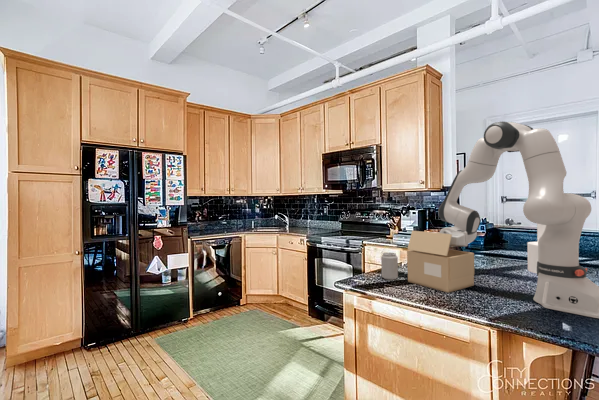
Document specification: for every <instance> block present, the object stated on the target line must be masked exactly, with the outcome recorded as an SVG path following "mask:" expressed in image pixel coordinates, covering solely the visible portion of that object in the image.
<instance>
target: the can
mask: <svg viewBox="0 0 599 400" xmlns="http://www.w3.org/2000/svg"><path fill="white" fill-rule="evenodd" d="M380 257H381V258H380V259H381V260H380V261H381V277H382V278H383V280H388V281H395V280H396V279H398V278H399V266H398V265H399V261H398V260H399V259H398V256H397V254H396V253H395V252H383V253H382V255H381V256H380Z"/></svg>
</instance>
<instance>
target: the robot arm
mask: <svg viewBox="0 0 599 400" xmlns="http://www.w3.org/2000/svg"><path fill="white" fill-rule="evenodd" d="M506 152H507V153H515V152H516V153H518V152H519V153H520V156H521V159H522V161H523V165H524V170H525V172H526V173H525V174H526V178H527V179H528V196H527V199H526V201H525V202H524V203H523V207H522V209H523V211H522V212H523V214H524V217H525V218H526V219H527V220H528V222H529V221H530V222H531V223H534V224H536V225H537V224H541V225H546V228H545V231H544V233H543V235H542V236H541V237H540V239H539V241H538V262H537V274H536V276H537V283H536V288H535V289H536V290H535V293H534V296H533V298H532V299H533V301H534V302H536V303H538V304H540V305H541V306H542V307H543V308H545V309H549V310H554V311H559V312H563V313H568V314H573V315H580V316H584V317H588V318H594V319H599V285H597V284H596V282H593V281H592V280H590V279H589V278H588V277H587V272H588V268H587V267H586V268H584V267H583V266H581V265H580V259H579V256H580V254H579V252H580V250H579V249H580V248H579V247H580V239H581V235H582V232H583V228H584V225H585V222H586V220H587V218H588V217H589V216H590V214H591V213H592V205H591V203H590V201H589V200H588V199H587V198H586V197H584V196H581V195H579V194H576V193H572V192H571V193H569V192H567V193H566V192H564V181H565V180H564V179H565V178H566V177H567V170H566V166H565V164H564V160H563V157H562V155H561V150H560V149H559V146H558V142H557V141H556V139H555V138H554V136H553V134H552V133H551V132H550V131H549V130H548V129H545V128H541V127H539V128H533V127H532V126H531V125H526V124H522V123H518V122H512V121H511V122H510V121H503V120H502V121H497V122H493V123H491V124H490V125H488V126H487V127H486V128H485V130H484V132H483V137H481V138H479V139H478V140H477V141H476V142H475V144H474V147H472V150H471V152H470V155H469V159H468V162H467V164H466V165H465V167H463V169H461V170H460V171H458V172H457V173H456V175H455V177H454V178H453V181H452V182H451V184H450V187H449V189H448V191H447V193H446V195H445V197H444V200H443V201H442V202H441V204H440V205H439V207H438V209H437V214H438V217H439V218H440V219H439V220H441V221H442V222H445V223H448V224H451V225H453V226H447V227H443V228H441V229H440V230H439V231H438V233H443V234H452V237H451V242H450V246H449V248H452V247H453V248H454V247H468V245H469V244H470V243H472V242H474V241H475V239H477V235H478V233H477V231H478V229H479V227H480V226H481V217H480V216H481V215H480V213H479V212H478V210H475V209H472V208H469V207H467V206H464V205H461V204H459V203H458V199H459V196H460V195H461V193H462V191H463V189H464V187H466V186H468V185H471V184H479V183H484V182H487V181H488V180H490V179H491V178H493V176H494V174H495V173H496V170H497V167H498V165H499V164H498V163H499V161H500V158H501V155H503V154H504V153H506ZM431 232H432V233H436V232H434V231H431Z"/></svg>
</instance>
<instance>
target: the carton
mask: <svg viewBox="0 0 599 400" xmlns="http://www.w3.org/2000/svg"><path fill="white" fill-rule="evenodd" d="M406 258H407V261H406V262H407V265H406V267H407V268H406V269H407V282H408V283H410V284H411V283H412V284H415V285H418V286H419V285H420V286H422V287H427V288H430V289H433V290H437V291H441V292H445V293H452V292H456V291H459V290H463V289H466V288H469V287H473V286H475V283H474V281H475V253H474V252H470V251H464V250H463V251H462V250H457V249H450V248H449V250H448V255H447V256H444V255H438V254H431V253H425V252H419V251H413V250H406Z"/></svg>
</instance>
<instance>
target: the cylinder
mask: <svg viewBox="0 0 599 400" xmlns="http://www.w3.org/2000/svg"><path fill="white" fill-rule="evenodd" d="M536 227H537V228H536V231H537V232H536V235H537V236H536V237H537V238H536V239H537V241H528V242H526V245H527V271H528V272H530V273H534V274H536V275H537V262H538V241H539V239H540V237H541V236H542V235H543V233H544V231H545V228H546V225H541V224H537V223H536Z"/></svg>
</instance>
